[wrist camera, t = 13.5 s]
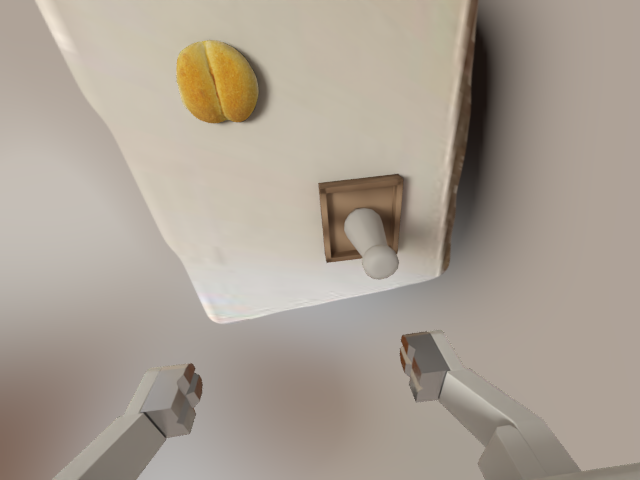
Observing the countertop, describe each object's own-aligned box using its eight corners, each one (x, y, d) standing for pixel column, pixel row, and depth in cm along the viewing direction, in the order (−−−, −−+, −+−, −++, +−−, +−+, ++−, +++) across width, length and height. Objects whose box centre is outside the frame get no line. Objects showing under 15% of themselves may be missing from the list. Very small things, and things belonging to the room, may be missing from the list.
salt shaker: (382, 206, 41) (415, 252, 30) (370, 237, 44) (397, 290, 33) (347, 199, 40) (368, 244, 29) (337, 231, 43) (352, 284, 32)
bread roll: (263, 119, 34) (260, 123, 31) (193, 122, 34) (182, 127, 30) (252, 39, 30) (247, 34, 26) (172, 42, 29) (156, 38, 26)
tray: (318, 183, 39) (319, 188, 37) (397, 174, 39) (403, 179, 37) (325, 254, 46) (326, 262, 44) (392, 246, 46) (397, 253, 44)
